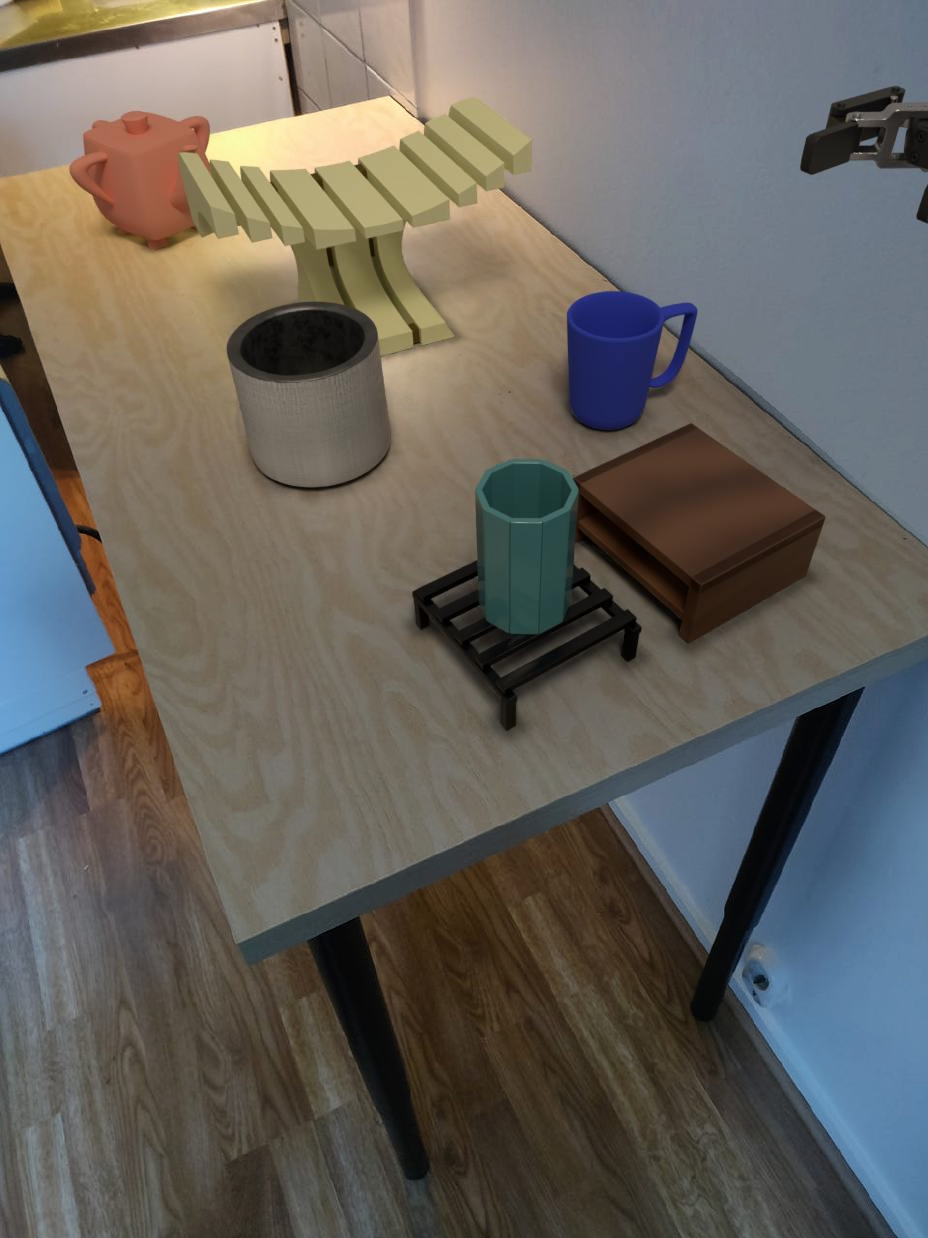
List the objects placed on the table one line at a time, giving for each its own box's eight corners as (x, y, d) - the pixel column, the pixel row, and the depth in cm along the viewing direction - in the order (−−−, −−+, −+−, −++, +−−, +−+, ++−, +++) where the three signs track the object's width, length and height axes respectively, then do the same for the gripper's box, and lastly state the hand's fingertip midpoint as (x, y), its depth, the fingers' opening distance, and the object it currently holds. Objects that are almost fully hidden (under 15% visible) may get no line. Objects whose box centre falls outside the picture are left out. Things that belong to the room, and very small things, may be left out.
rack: (637, 658, 65) (643, 621, 62) (507, 732, 61) (507, 695, 58) (536, 562, 72) (538, 524, 69) (415, 623, 68) (410, 585, 65)
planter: (230, 440, 84) (200, 329, 76) (350, 393, 88) (334, 284, 80) (290, 513, 77) (264, 400, 68) (417, 458, 81) (407, 346, 73)
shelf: (806, 575, 70) (826, 516, 65) (688, 643, 66) (701, 585, 61) (680, 480, 78) (691, 422, 73) (568, 536, 74) (572, 477, 69)
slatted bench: (468, 255, 107) (463, 87, 94) (528, 317, 97) (532, 139, 84) (216, 314, 100) (172, 141, 86) (253, 389, 89) (210, 205, 76)
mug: (704, 415, 84) (723, 315, 77) (586, 448, 81) (594, 348, 74) (659, 370, 89) (672, 273, 82) (547, 400, 86) (550, 302, 79)
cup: (588, 608, 63) (598, 496, 55) (512, 649, 61) (512, 537, 53) (535, 558, 66) (539, 446, 59) (462, 594, 64) (456, 482, 57)
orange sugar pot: (113, 205, 120) (78, 95, 110) (234, 195, 120) (210, 85, 111) (90, 265, 109) (49, 148, 99) (223, 255, 109) (195, 138, 99)
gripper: (962, 21, 60) (785, 74, 54) (1181, 77, 51) (999, 147, 46) (923, 143, 65) (759, 203, 59) (1115, 211, 57) (946, 289, 51)
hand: (863, 178), depth 53 cm, fingers open, 8 cm apart
